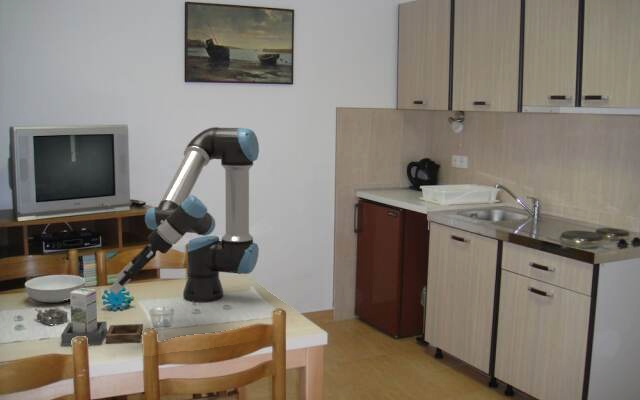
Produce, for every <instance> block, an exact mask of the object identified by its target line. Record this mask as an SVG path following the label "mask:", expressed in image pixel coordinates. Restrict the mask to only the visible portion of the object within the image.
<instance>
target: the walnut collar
mask: <svg viewBox="0 0 640 400" xmlns="http://www.w3.org/2000/svg"><path fill="white" fill-rule="evenodd" d="M107 331H108V332H107V334H106V336H105V344H126V343H127V344H129V343H130V344H131V343H133V344H134V343H140V342H141V341H142V340H141V339H142V337H141V335H142V336H143V333H142V331H143V332H144V325H143V323H136V324H135V323H134V324H129V323H128V324H110V325H109V327H108V329H107Z"/></svg>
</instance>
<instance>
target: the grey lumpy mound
mask: <svg viewBox="0 0 640 400" xmlns="http://www.w3.org/2000/svg"><path fill="white" fill-rule="evenodd" d="M34 310H35V311H36V312H38V313H37V314H36V321H37V320H42V321H41V323H42V322H47V323H46V325H47V324H48V325H47V326H51V325H50V324H53V325H52V326H56V325H55V324H57V325H58V324H59V323H58V322H63V323H62V324H65V323H64V322H66V323H67V322H68V314H69V312H68V311H65V310H64V309H61V308H59V307H53V308H49V309H45V310H44V311H43V312H42V310H41V309H37V308H35V309H34ZM49 318H51V319H49Z"/></svg>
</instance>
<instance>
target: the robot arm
mask: <svg viewBox="0 0 640 400" xmlns="http://www.w3.org/2000/svg"><path fill="white" fill-rule="evenodd" d="M259 152H260V146H259V140H258V137H257V135H256V133H255V132H254V130H252V129H250V128H245V127H219V126H218V127H217V126H215V127H209V128H206V129H204V130H202V131H200V132H199V133H198V134H197V135H196V136H194V137H193V138H192V139H191V141H190V142H188V144H187V146H186V147H185V149H184V151H183V159H182V161H181V162H180V165H179V167H178V169H177V170H176V172H175V174H174V176H173V178H172V180H171V182H170V184H169V185H168V187H167V189H166V191H165V193H164V195H163V197H162V198H161V200H160V202H159V204H158V205H157V206H151V207H149V208H148V209H146V212H145V215H144V222H145V225H146V227H147V228H148V229H150V230H153V231H151V233H150V234H148V236H147V240H148V241H149V244H146V245H145V246H144V247H143V249H141V251H140V252H139V253H137V254H136V256H134V257H133V259H131V261H130V262H129V263H128V264H126V266H125V267H124V268H123V269H122V270H121V271H120V272H118V274H117V275H115V278H116V281H115V282H113V284H112V285H111V286H109V287H110V288H109V287H108V288H109V289H110V290H111V291H112V292H114V293H115V294H117V293H118V292H119V291H120V290H121V289H122V288H123V287H125V286H126V285H127V284H128V283H129V282H130V281H132V280H133V279H135V277H136V276H137V275H138V274H139V272H140V271H141V270H142V269H143V268H144V267H145V266H146V265H147V264H149V262H150V261H151V260H153V259H154V258H155V257H156V255H157V251H159V253H162V254H167V252H169V250H170V249H171V248H173V245H176V244H177V243H178V242H179V241H180V240H181V239H182V238H183V237H184V236H185V234H187V233H191V234H196V235H199V236H198V237H195V238H191V239H190V240H189V241H188V243H187V251H186V252H187V279H186V282H185V286H184V288H183V299H184V300H186V301H188V302H192V301H195V303H211V302H215V301H218V300H222V299H223V298H224V288H223V285H222V283H221V280H220V279H221V278H220V276H219V275H220V273H229V274H230V273H231V274H237V275H241V274H243V275H244V274H245V275H248V274H251V273H252V272H253V271H254V269H255V268H256V265H257V262H258V258H259V250H260V248H259V245H258V244H257V243H256V242H254V237H253V236H252V235H251V234H250V169H251V168H252V167H253V166H254V162H255V161H257V160H258V158H259ZM211 160H221V161H220V163H221V164H220V165H221V166H222V168H223V169H224V171H225V234H224V235H223V236H221V240H220V238H219V236H217V235H210V234H211V233H213V232H214V231H215V228H216V219H215V217H214V216H213V215H211V213H209V212H208V208H207V206H206V205H205V203H203V202H202V201H201V200H200V199H199V198H198V197H197V196H195V195H193V194H191V192H192V191H193V189H194V186H195V184H196V182H197V180H198V178H199V177H200V174H201V173H202V171H203V168H204V167H205V166H208V165H209V163H210V161H211ZM190 194H191V195H190ZM110 290H109V291H110ZM111 291H110V292H111Z"/></svg>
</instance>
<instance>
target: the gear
mask: <svg viewBox="0 0 640 400" xmlns="http://www.w3.org/2000/svg"><path fill="white" fill-rule="evenodd" d="M110 287H111V286H109V287H108V288H110ZM109 291H110V293H109ZM101 300H103V301H102V306H105V305H106V309H107V310H111V308H112V307H113V308H112V311H114V312H117V310H118V307H119V311H123V310H124V308H125V307H126V308H127V307H129V306H130V304H131V303H132V301H134V300H135V297H134V296H130V291H127V289H126V287H125V286H124V287H123V288H122V289H121V290H120V291H119V292H118V293H117V294H115V293H114V292H112V291H111V290H110V289H109V290H108V289H105V290H104V291H103V294H102V295H101ZM106 300H107V301H106ZM123 304H124V306H125V307H124V306H123Z"/></svg>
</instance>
